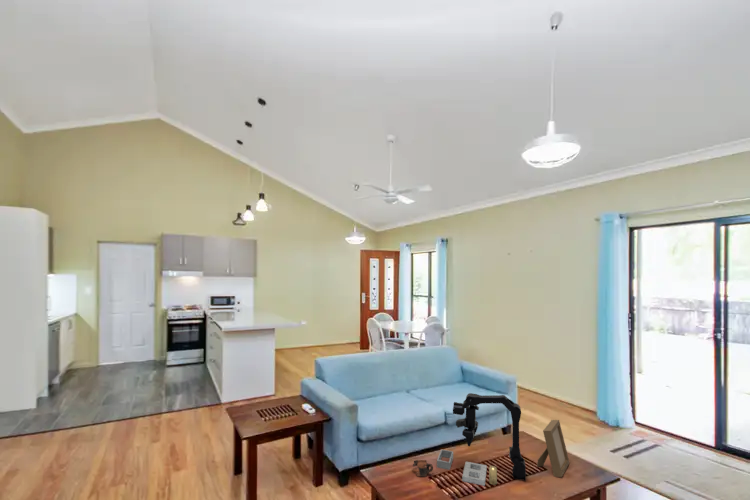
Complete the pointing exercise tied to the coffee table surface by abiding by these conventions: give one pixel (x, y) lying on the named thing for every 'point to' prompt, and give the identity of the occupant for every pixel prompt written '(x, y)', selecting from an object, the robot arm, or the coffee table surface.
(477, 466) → the plate
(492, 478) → the pale yellow rod
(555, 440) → the photo frame
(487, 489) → the coffee table surface
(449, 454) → the gray hollow rectangular block
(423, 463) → the pottery mug
